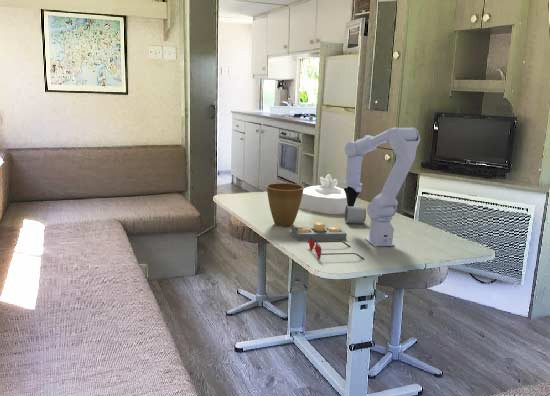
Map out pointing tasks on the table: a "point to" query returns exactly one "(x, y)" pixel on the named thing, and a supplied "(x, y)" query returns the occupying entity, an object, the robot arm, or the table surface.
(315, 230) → the tan rounded lump
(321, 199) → the white decorated cake
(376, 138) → the robot arm
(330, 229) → the tan rounded lump
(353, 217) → the ceramic mug
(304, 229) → the pale orange rounded lump
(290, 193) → the plant pot
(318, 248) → the glasses
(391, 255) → the table surface
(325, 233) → the board
